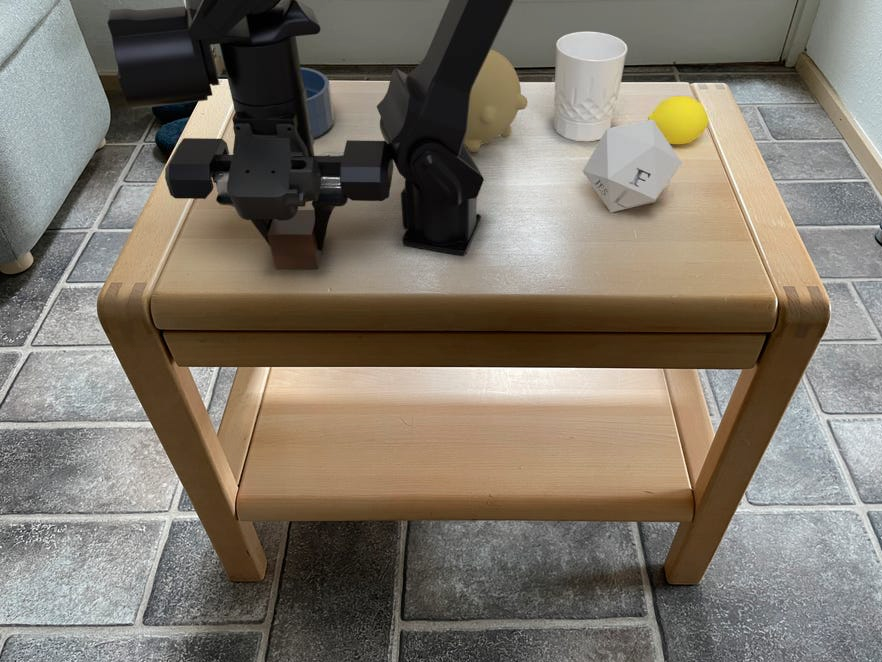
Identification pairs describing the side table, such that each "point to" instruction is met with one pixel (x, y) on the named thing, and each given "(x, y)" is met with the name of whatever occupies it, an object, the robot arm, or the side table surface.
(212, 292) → the side table surface
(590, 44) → the white cup
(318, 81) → the bowl
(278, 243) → the block
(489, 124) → the toy pig
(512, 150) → the side table surface
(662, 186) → the die
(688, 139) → the lemon
